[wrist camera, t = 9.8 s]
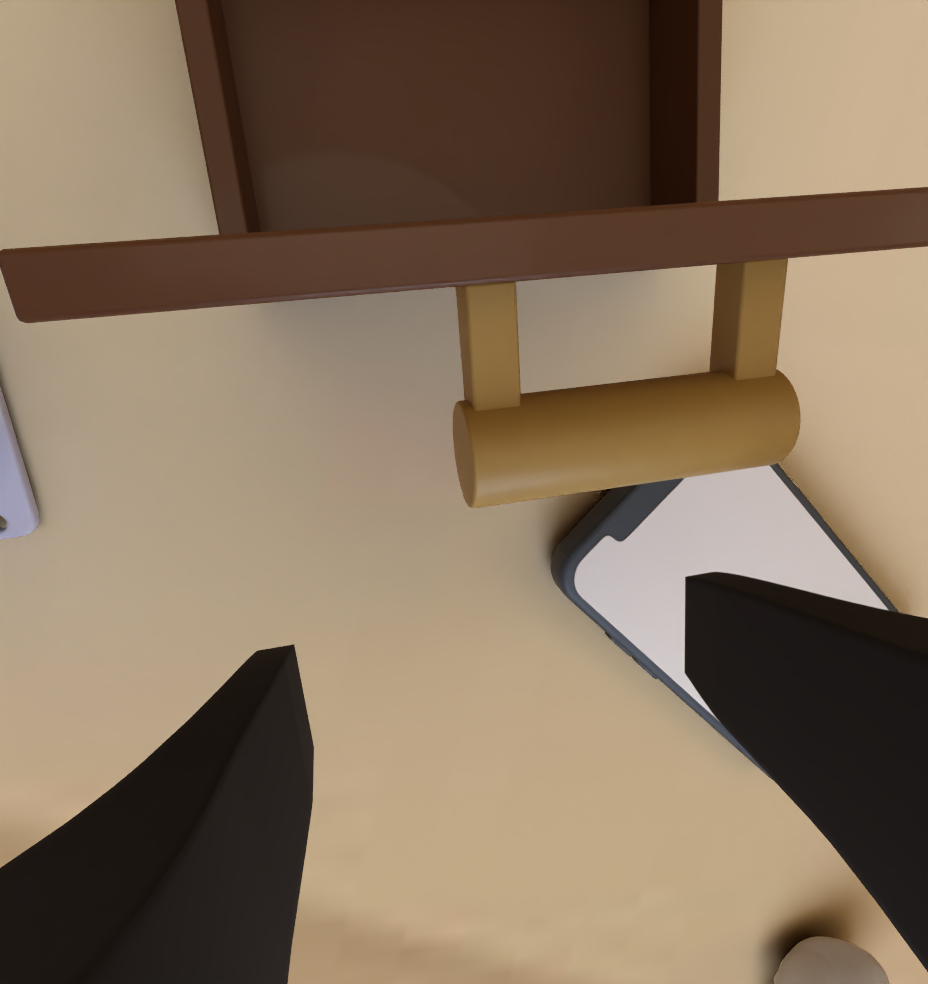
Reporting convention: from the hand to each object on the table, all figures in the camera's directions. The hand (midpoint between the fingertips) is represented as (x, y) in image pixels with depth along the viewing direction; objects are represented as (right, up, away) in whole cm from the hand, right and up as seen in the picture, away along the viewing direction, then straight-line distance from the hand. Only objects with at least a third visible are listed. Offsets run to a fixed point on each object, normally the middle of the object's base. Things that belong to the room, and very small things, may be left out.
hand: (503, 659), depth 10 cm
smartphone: (+10, -1, +13) cm, 17 cm away
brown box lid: (+1, +8, 0) cm, 8 cm away
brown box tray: (-1, +14, +7) cm, 16 cm away
